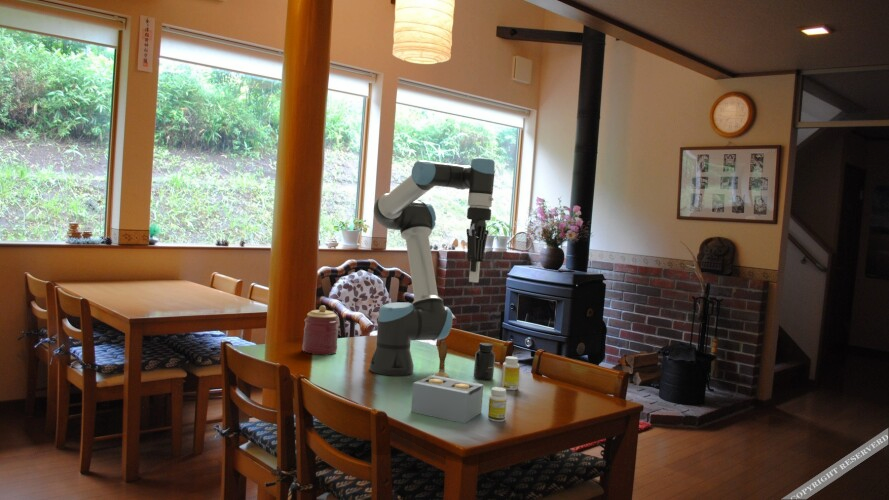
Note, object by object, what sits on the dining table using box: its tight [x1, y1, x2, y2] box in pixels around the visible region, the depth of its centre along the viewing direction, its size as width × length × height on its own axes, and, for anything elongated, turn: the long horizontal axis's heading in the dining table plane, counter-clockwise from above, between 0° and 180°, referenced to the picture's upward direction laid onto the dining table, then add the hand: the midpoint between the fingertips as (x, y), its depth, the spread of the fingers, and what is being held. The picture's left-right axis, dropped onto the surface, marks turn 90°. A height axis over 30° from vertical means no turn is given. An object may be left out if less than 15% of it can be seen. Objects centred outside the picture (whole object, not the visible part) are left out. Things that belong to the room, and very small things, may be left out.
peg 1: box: [429, 379, 443, 384], centre depth 183 cm, size 4×4×8 cm
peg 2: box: [455, 384, 469, 390], centre depth 180 cm, size 4×4×8 cm
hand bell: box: [434, 339, 450, 378], centre depth 203 cm, size 8×8×16 cm
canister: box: [302, 305, 340, 356], centre depth 248 cm, size 13×13×18 cm
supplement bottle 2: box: [487, 386, 508, 423], centre depth 178 cm, size 5×5×8 cm
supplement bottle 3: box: [500, 355, 521, 391], centre depth 214 cm, size 6×6×10 cm
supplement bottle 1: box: [473, 342, 496, 381], centre depth 225 cm, size 7×7×12 cm
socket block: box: [410, 374, 484, 424], centre depth 181 cm, size 16×12×8 cm
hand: (473, 281), depth 207 cm, fingers closed
